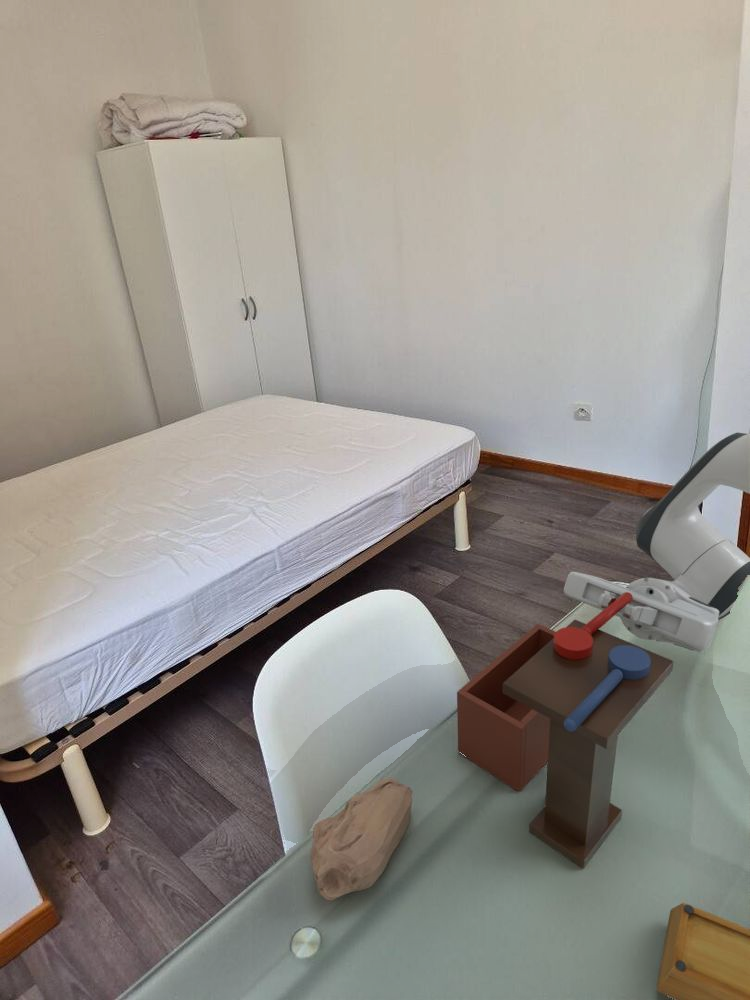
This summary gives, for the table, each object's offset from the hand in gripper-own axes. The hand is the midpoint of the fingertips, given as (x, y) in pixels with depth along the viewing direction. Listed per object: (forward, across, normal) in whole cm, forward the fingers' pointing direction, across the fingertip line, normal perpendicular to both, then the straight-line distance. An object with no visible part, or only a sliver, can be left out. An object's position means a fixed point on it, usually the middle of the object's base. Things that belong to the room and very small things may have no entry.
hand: (616, 606), depth 89 cm
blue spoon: (+12, +6, +8) cm, 16 cm away
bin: (-12, -11, +25) cm, 29 cm away
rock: (+16, -11, +37) cm, 42 cm away
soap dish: (+6, +25, +28) cm, 38 cm away
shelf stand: (-3, +3, +30) cm, 30 cm away
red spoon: (+3, -1, +3) cm, 4 cm away
